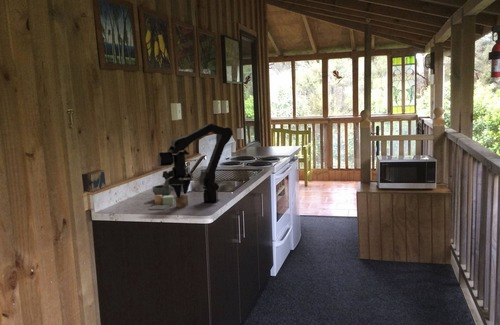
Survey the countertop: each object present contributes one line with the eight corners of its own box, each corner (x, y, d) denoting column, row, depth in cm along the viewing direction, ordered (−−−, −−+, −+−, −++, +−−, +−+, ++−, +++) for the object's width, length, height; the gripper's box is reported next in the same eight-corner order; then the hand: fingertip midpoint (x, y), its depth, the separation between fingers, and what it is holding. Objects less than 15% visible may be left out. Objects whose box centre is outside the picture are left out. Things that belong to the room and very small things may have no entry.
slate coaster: (170, 206, 223) (170, 204, 223) (164, 209, 215) (164, 208, 215) (155, 206, 224) (155, 204, 224) (148, 209, 217) (148, 208, 217)
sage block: (174, 202, 231) (173, 195, 230) (173, 204, 226) (172, 197, 225) (164, 203, 231) (163, 195, 230) (163, 205, 226) (162, 197, 225)
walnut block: (188, 205, 224) (187, 195, 223) (185, 207, 219) (184, 197, 219) (179, 205, 225) (179, 195, 224) (176, 207, 220) (175, 197, 220)
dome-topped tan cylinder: (164, 203, 230) (163, 194, 230) (161, 204, 226) (160, 196, 226) (156, 203, 231) (156, 194, 231) (153, 204, 227) (153, 196, 227)
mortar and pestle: (149, 200, 239) (148, 178, 237) (161, 196, 247) (160, 175, 245) (166, 201, 233) (164, 179, 231) (177, 198, 241) (176, 176, 239)
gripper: (171, 161, 230) (173, 191, 232) (156, 167, 212) (158, 199, 214) (192, 161, 228) (194, 191, 230) (178, 167, 210) (181, 199, 212)
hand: (181, 195), depth 221 cm, fingers open, 9 cm apart
